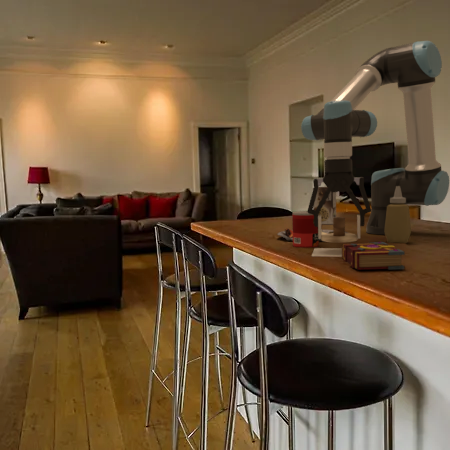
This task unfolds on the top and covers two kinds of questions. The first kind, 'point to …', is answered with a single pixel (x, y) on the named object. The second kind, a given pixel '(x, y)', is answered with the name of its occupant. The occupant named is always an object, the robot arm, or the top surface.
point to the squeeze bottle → (397, 219)
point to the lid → (339, 232)
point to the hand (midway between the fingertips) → (339, 238)
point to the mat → (327, 252)
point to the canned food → (304, 230)
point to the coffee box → (326, 206)
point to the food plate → (289, 234)
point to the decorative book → (372, 256)
